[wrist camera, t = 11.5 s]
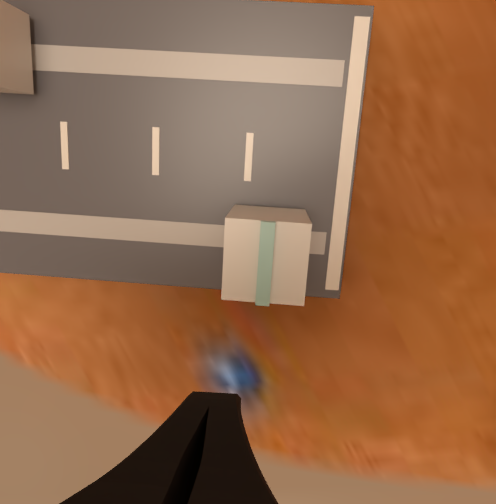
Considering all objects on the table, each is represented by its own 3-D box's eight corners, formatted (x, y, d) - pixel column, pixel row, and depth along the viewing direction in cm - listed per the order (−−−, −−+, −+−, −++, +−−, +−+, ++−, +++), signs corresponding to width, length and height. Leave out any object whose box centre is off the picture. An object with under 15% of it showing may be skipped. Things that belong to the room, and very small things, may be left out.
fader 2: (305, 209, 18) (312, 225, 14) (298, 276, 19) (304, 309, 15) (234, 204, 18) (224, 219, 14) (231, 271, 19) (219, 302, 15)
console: (365, 17, 18) (374, 5, 16) (335, 288, 21) (339, 299, 19) (-25, -1, 19) (-51, -14, 17) (-3, 262, 22) (-24, 270, 20)
